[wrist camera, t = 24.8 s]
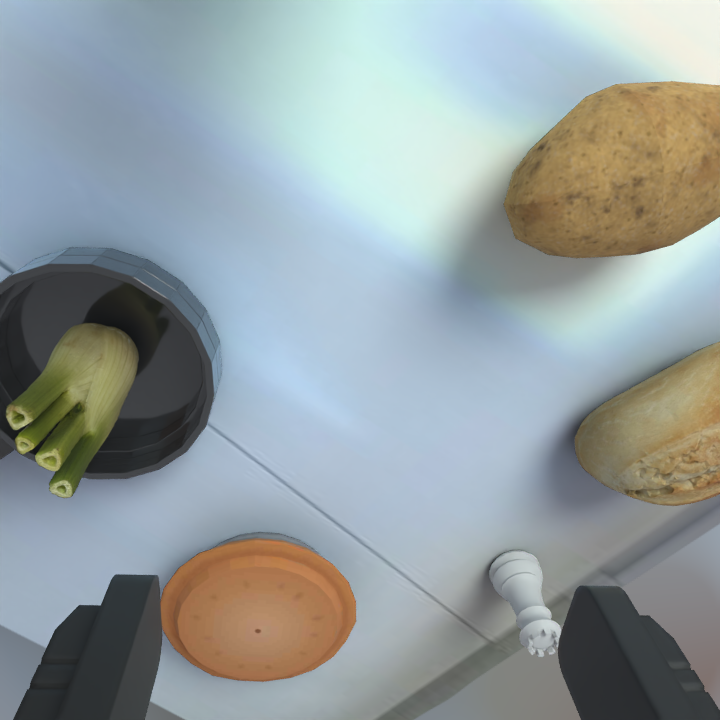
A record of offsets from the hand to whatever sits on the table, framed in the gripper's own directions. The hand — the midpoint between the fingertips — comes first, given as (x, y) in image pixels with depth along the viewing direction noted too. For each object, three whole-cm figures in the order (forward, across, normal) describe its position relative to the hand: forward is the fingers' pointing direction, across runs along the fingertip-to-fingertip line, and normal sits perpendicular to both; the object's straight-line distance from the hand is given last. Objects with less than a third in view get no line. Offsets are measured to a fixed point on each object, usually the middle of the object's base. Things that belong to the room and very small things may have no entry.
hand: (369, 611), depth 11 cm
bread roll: (+30, -26, +11) cm, 41 cm away
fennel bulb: (+30, +14, +9) cm, 34 cm away
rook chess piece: (+30, -18, +28) cm, 45 cm away
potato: (+30, -16, -6) cm, 35 cm away
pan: (+30, +14, +9) cm, 35 cm away
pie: (+30, +3, +30) cm, 43 cm away
